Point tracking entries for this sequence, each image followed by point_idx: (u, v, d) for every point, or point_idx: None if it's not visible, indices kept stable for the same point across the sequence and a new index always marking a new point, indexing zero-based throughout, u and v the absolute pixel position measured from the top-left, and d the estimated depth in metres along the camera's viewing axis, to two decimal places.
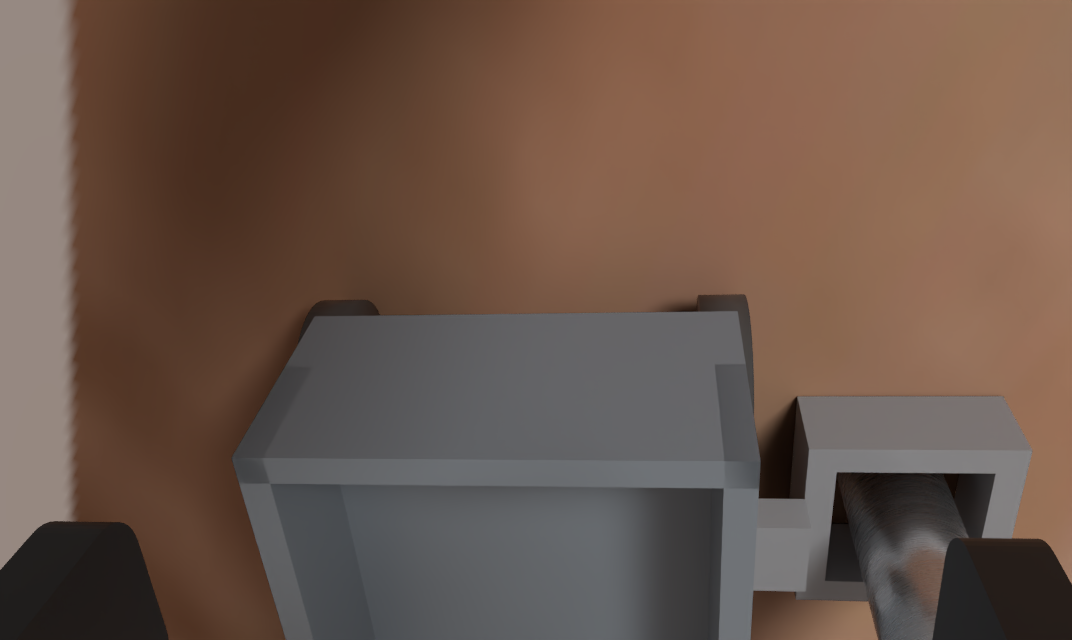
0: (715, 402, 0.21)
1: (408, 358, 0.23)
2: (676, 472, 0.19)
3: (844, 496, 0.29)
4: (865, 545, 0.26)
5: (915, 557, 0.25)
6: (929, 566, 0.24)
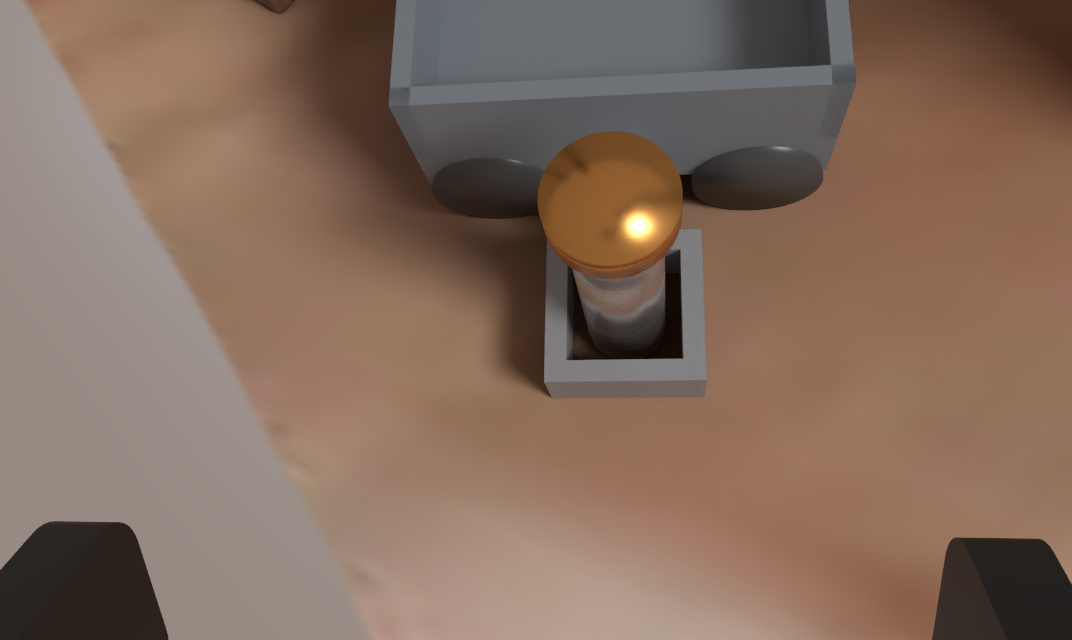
0: None
1: None
2: (842, 38, 0.30)
3: None
4: None
5: None
6: None
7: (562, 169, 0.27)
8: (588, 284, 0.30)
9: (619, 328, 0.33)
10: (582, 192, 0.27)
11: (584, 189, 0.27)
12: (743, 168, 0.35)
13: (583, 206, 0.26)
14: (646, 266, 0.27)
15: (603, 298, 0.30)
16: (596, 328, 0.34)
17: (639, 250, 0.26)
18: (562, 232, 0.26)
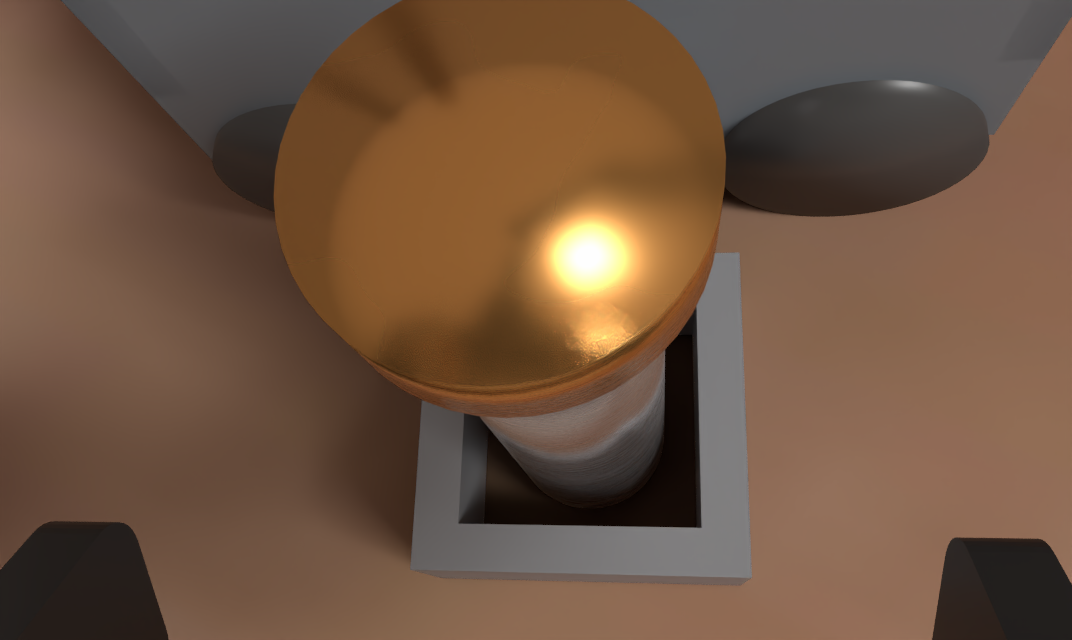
0: None
1: None
2: None
3: None
4: None
5: None
6: None
7: (357, 84, 0.09)
8: None
9: (562, 472, 0.15)
10: (413, 152, 0.09)
11: (418, 143, 0.09)
12: (827, 129, 0.17)
13: (411, 196, 0.08)
14: (609, 384, 0.09)
15: (511, 429, 0.12)
16: (518, 462, 0.16)
17: (582, 342, 0.08)
18: (341, 278, 0.08)
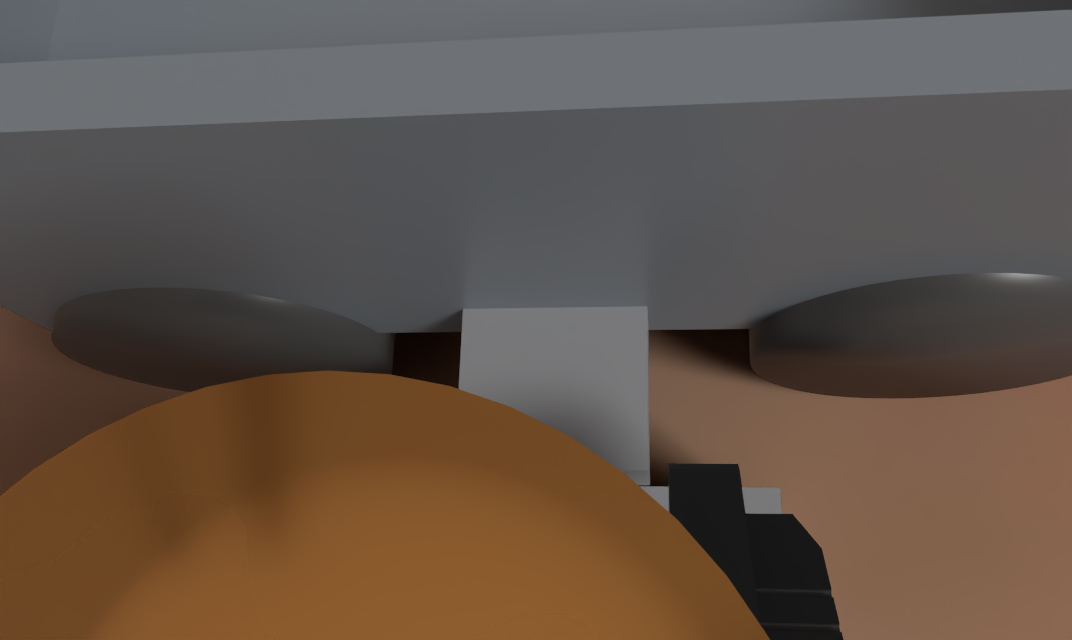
0: None
1: None
2: None
3: None
4: None
5: None
6: None
7: None
8: None
9: None
10: None
11: None
12: (908, 327, 0.12)
13: None
14: None
15: None
16: None
17: None
18: None
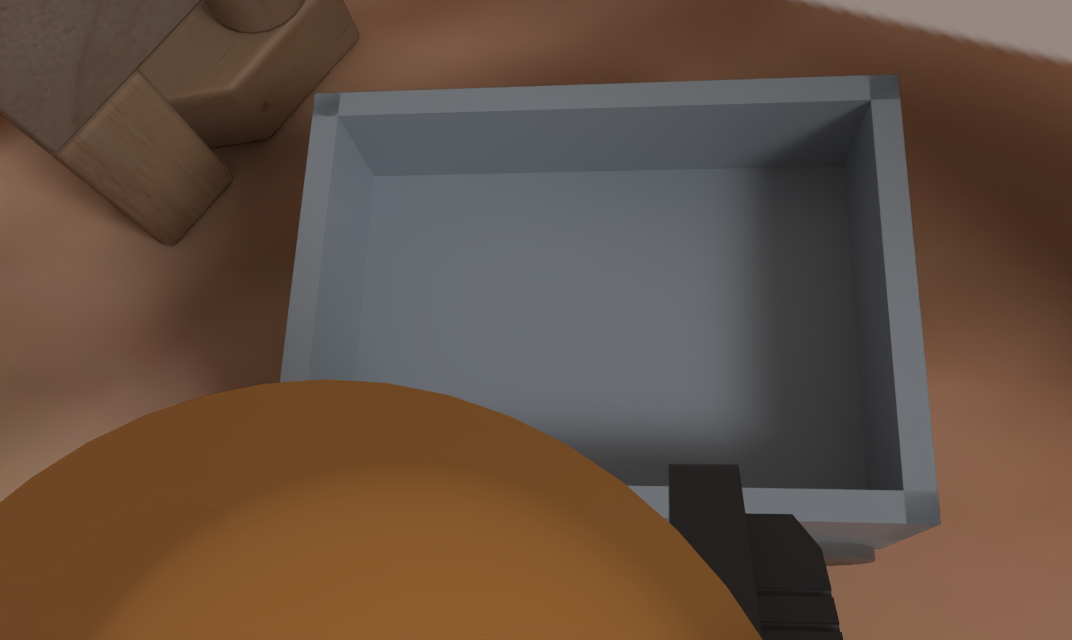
0: None
1: None
2: (919, 447, 0.21)
3: None
4: None
5: None
6: None
7: None
8: None
9: None
10: None
11: None
12: None
13: None
14: None
15: None
16: None
17: None
18: None
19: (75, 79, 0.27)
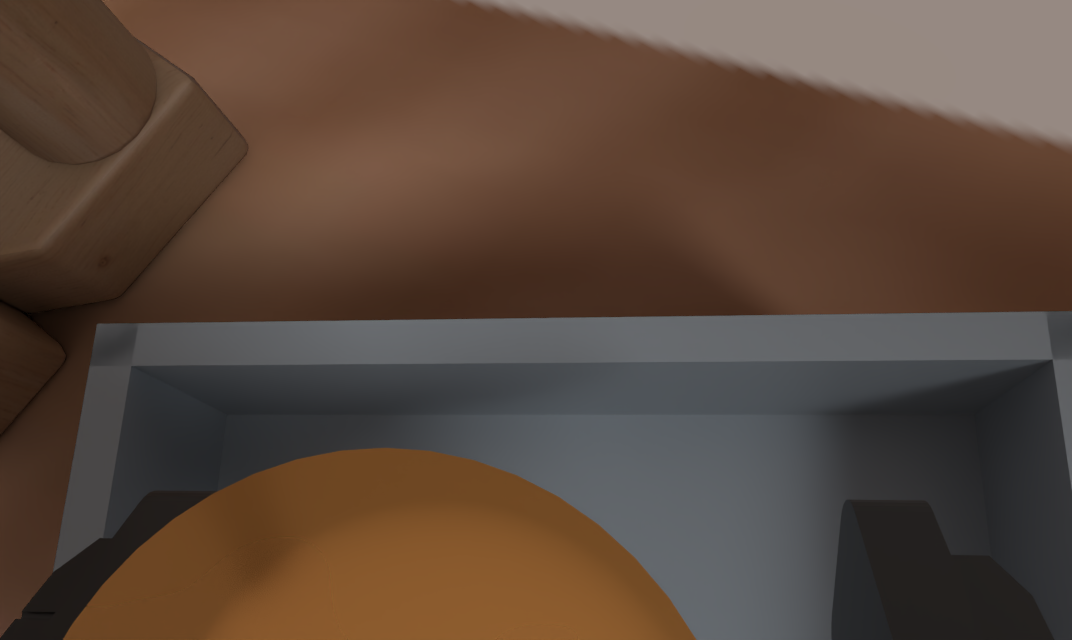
0: None
1: None
2: None
3: None
4: None
5: None
6: None
7: None
8: None
9: None
10: None
11: None
12: None
13: None
14: None
15: None
16: None
17: None
18: None
19: None
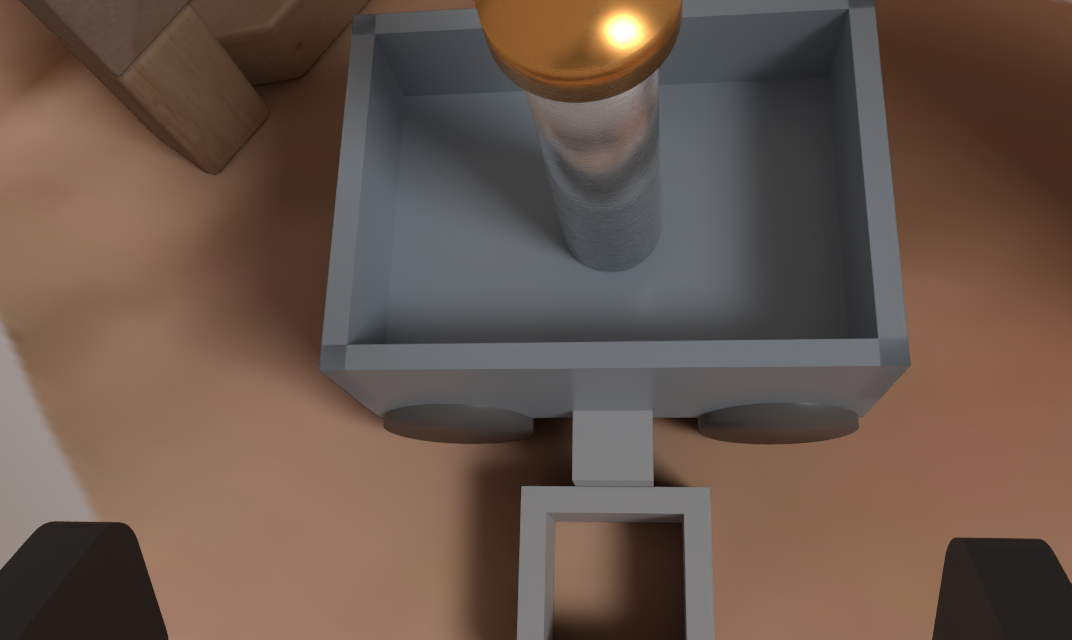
0: None
1: None
2: (892, 301, 0.24)
3: None
4: None
5: None
6: None
7: None
8: (552, 133, 0.21)
9: (598, 211, 0.25)
10: None
11: None
12: (761, 420, 0.28)
13: None
14: (630, 82, 0.18)
15: (573, 157, 0.22)
16: (569, 218, 0.26)
17: (619, 49, 0.18)
18: (507, 28, 0.18)
19: (137, 8, 0.30)
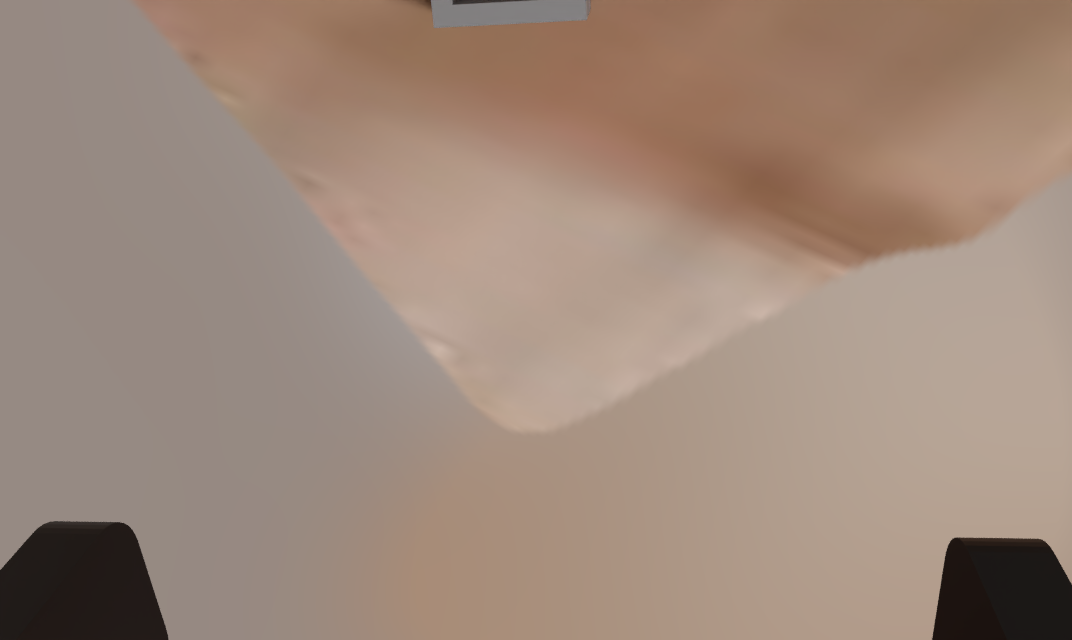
0: None
1: None
2: None
3: None
4: None
5: None
6: None
7: None
8: None
9: None
10: None
11: None
12: None
13: None
14: None
15: None
16: None
17: None
18: None
19: None
